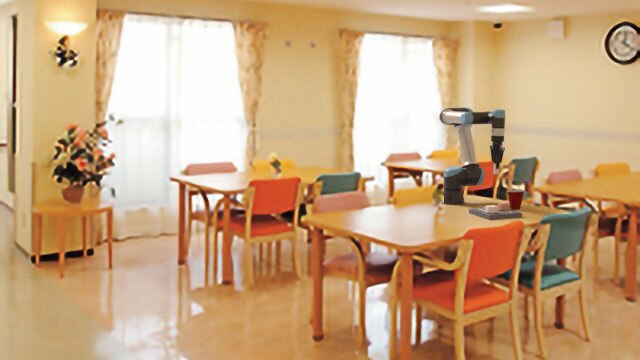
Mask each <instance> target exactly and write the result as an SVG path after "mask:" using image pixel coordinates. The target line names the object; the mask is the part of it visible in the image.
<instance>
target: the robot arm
mask: <svg viewBox="0 0 640 360" xmlns="http://www.w3.org/2000/svg"><path fill="white" fill-rule="evenodd" d="M438 118H439V120H440V122H441V123H442V124H444V125H446V126H454V129H455V130H456V131H457V135H458V141H459V146H460V152H461V158H462V165H460V166H459V165H456V166H449V167H446V168H445V169H444V171H443V191H442V194H443V195H444V203H443V204H444V205H463V204H465V197H464V194H463V187H476V186H481V185H482V184H483V183H484V180H485V176H486V175H485V169H484V168H483V167H481V166H480V163H479V162H477V157H476V152H475V150H476V149H475V146H474V140H473V134H472V129H471V128H473V125H491V136H490V137H491V138H490V141H491V145H489V149H490V159H491V162H493V172H492V173H493V174H494V175H499V172H500V171H499V170H500V164H502V162H503V157H504V152H505V149H506V147H503V143H504V142H505V136H504V135H505V130H506V129H505V126H506V110H505V109H500V108H499V109H498V108H497V109H496V108H495V109H493V110H492V111H486V110H485V111H473V110H472V109H471V108H470V107H465V106H464V107H448V108H447V107H446V108H444V109H442V110H441V112H440V113H439V117H438Z"/></svg>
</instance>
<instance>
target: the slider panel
mask: <svg viewBox="0 0 640 360" xmlns="http://www.w3.org/2000/svg"><path fill="white" fill-rule="evenodd" d="M468 214H471V215H474V216H477V217H480V218H483V219H486V220H500V219H501V220H502V219H503V220H504V219H514V217H516V218H522V217H523V212H522V211H519V210H512V209H509V210H499V209H498V212H496V213H487V212H485V207H477V208H476V207H475V208H468Z"/></svg>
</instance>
